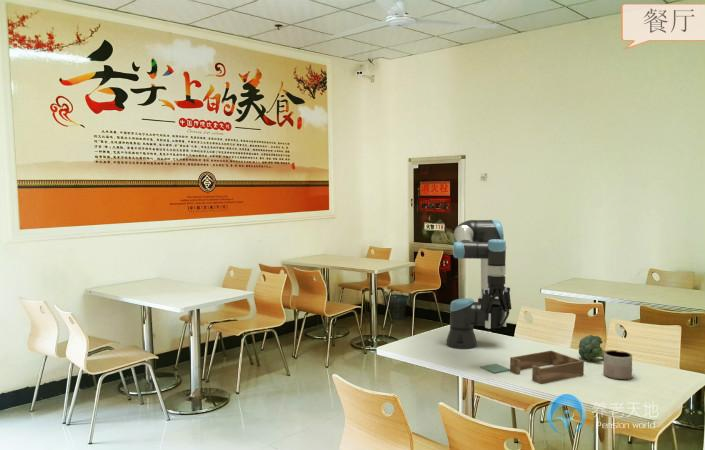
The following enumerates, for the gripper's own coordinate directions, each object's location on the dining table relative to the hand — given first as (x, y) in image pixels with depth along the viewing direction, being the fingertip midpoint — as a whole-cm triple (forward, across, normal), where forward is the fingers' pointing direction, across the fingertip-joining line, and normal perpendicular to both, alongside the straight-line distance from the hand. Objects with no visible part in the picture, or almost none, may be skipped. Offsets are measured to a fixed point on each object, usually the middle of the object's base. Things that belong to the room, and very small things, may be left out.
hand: (495, 326), depth 239 cm
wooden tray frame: (+19, +16, -14) cm, 28 cm away
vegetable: (+19, +50, -9) cm, 55 cm away
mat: (+19, 0, 0) cm, 19 cm away
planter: (+19, +40, -30) cm, 53 cm away
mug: (+1, 0, 0) cm, 1 cm away
